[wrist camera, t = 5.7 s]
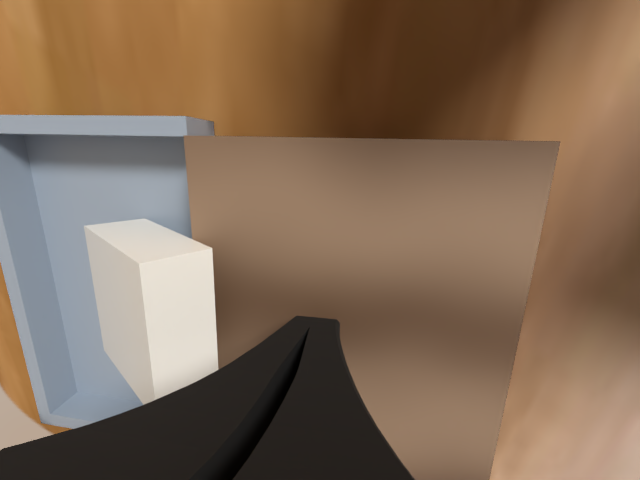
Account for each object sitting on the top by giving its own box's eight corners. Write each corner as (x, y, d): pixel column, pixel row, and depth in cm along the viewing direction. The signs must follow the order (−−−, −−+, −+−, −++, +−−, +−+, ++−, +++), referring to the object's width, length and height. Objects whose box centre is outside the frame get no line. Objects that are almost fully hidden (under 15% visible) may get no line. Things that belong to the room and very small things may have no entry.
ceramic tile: (219, 389, 11) (157, 424, 9) (156, 330, 14) (104, 350, 13) (212, 247, 9) (138, 263, 8) (144, 218, 13) (83, 225, 11)
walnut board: (463, 444, 13) (483, 507, 11) (237, 409, 15) (211, 458, 12) (517, 144, 10) (560, 141, 8) (222, 139, 12) (183, 135, 9)
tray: (231, 419, 15) (213, 453, 13) (76, 394, 16) (41, 423, 15) (213, 121, 12) (185, 116, 10) (17, 119, 13) (-37, 114, 11)
